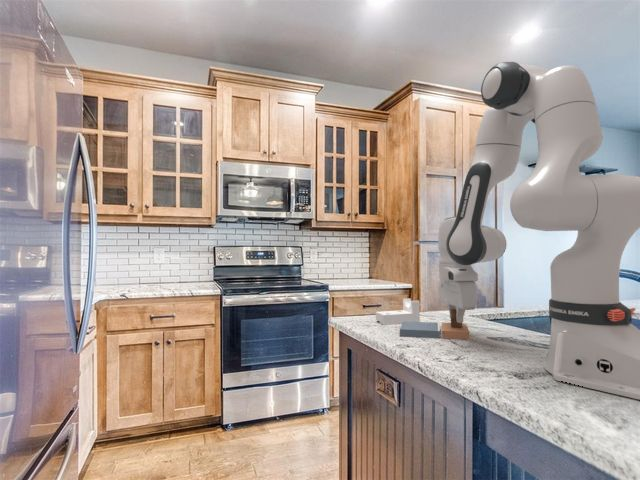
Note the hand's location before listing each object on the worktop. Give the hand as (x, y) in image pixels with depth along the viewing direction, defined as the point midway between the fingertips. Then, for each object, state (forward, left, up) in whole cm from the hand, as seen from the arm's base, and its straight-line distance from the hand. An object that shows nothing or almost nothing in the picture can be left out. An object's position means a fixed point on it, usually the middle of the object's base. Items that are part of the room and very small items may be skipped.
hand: (456, 320), depth 110 cm
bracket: (+24, +2, -4) cm, 24 cm away
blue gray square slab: (+7, +7, -4) cm, 11 cm away
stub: (0, 0, -4) cm, 4 cm away
